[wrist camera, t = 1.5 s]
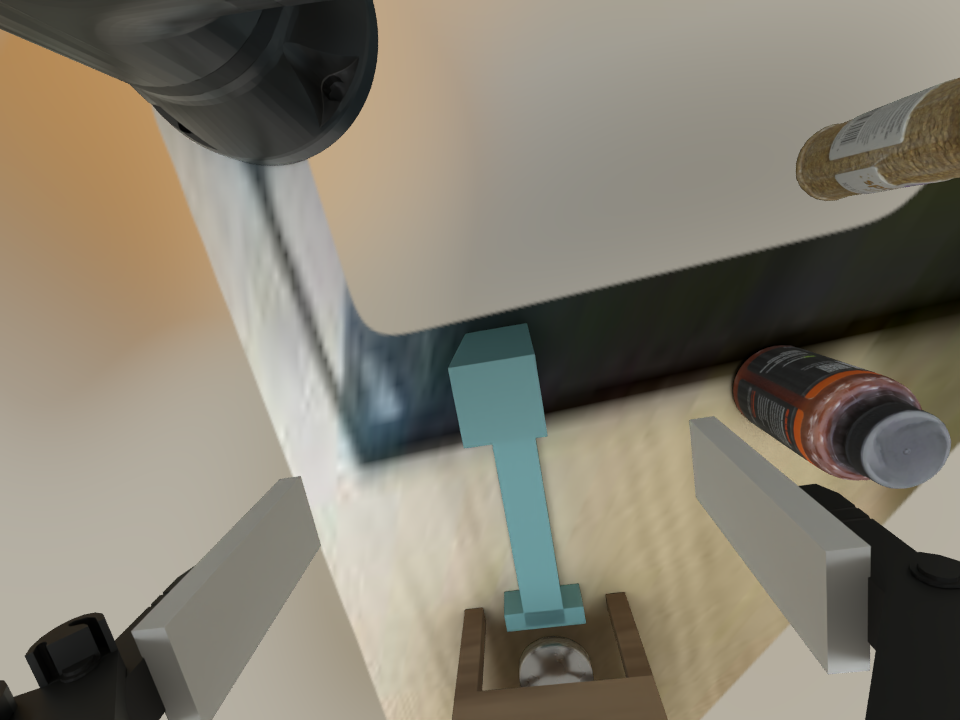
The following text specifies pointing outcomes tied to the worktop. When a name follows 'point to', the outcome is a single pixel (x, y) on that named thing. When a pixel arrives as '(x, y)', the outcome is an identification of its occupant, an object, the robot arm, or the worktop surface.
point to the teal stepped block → (514, 466)
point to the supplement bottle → (841, 417)
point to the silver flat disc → (554, 663)
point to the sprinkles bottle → (886, 147)
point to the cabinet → (560, 707)
